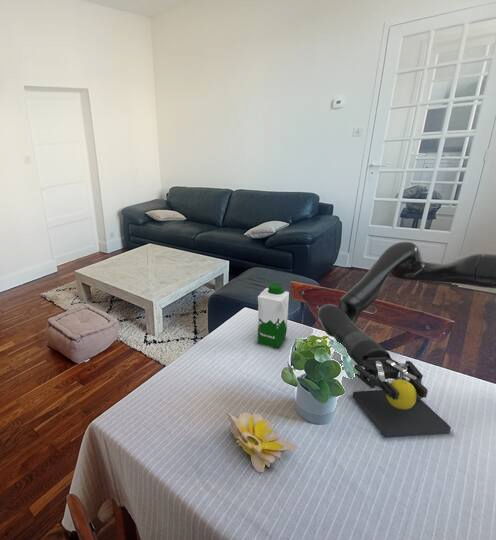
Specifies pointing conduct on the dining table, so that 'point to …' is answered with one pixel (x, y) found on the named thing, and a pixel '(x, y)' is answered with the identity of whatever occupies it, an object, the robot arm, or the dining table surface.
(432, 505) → the dining table surface
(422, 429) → the scale
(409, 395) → the lemon
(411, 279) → the robot arm
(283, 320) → the milk carton
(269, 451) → the decorative flower
